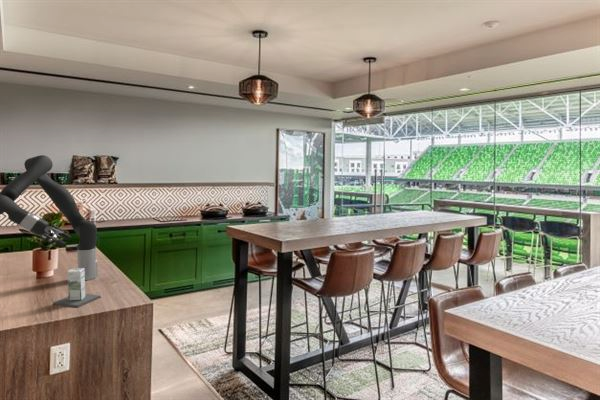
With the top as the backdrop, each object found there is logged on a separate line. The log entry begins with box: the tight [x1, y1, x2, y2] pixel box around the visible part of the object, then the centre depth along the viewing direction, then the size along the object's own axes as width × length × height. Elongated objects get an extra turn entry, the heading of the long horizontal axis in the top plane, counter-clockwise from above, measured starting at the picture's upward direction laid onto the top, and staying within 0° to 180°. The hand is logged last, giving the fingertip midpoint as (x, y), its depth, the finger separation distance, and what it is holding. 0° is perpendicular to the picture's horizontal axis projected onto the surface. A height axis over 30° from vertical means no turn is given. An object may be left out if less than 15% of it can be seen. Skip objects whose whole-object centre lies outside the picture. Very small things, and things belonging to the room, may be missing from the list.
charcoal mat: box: [52, 293, 102, 308], centre depth 185 cm, size 14×14×1 cm
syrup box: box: [67, 267, 86, 301], centre depth 184 cm, size 6×6×14 cm
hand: (67, 241), depth 188 cm, fingers open, 8 cm apart
